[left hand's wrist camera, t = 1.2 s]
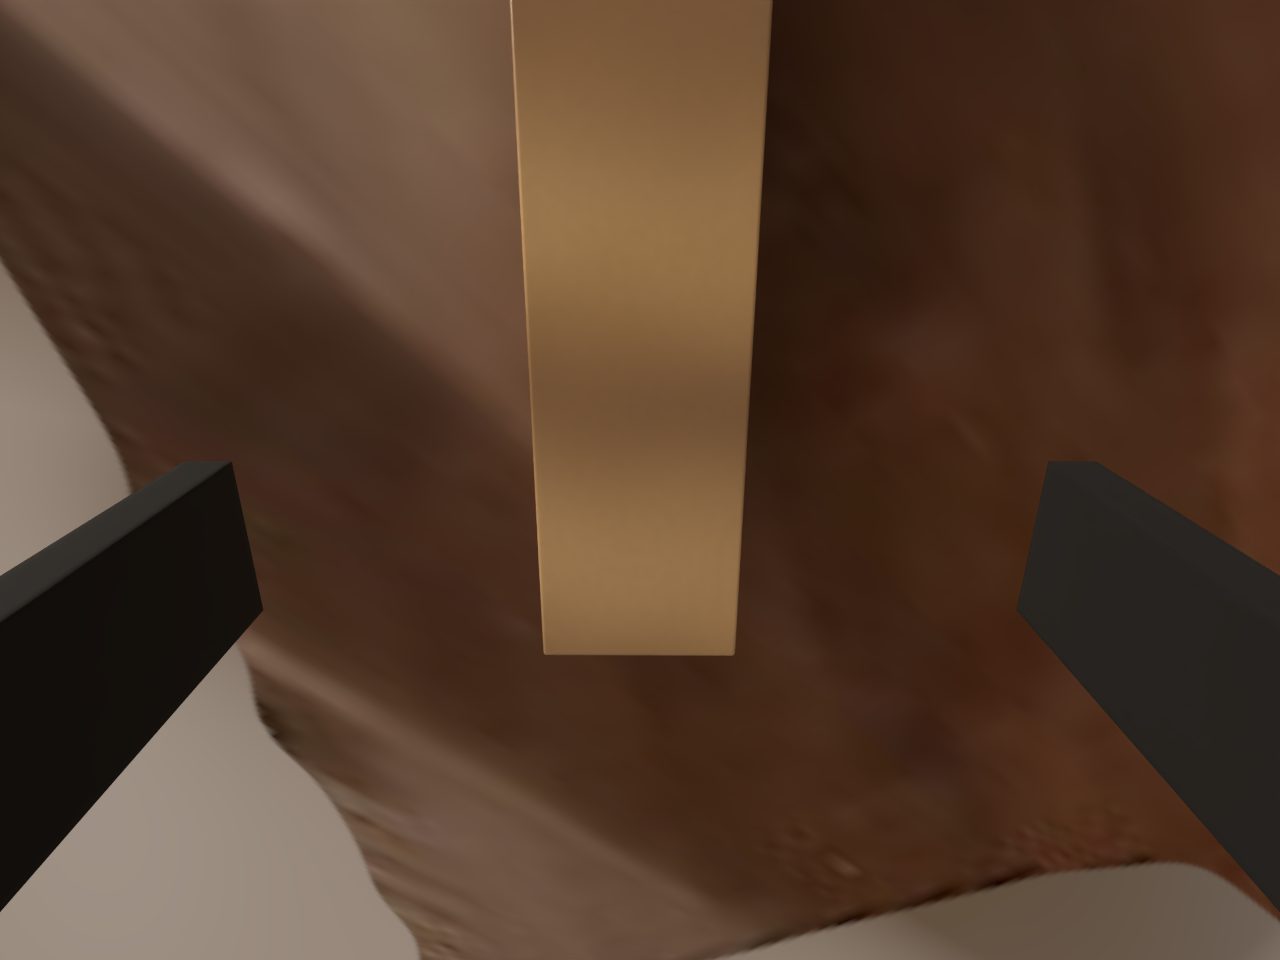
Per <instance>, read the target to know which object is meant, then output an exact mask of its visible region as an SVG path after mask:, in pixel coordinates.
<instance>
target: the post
mask: <svg viewBox="0 0 1280 960" xmlns="http://www.w3.org/2000/svg"><path fill="white" fill-rule="evenodd" d="M509 4H510V23H511V42H512V61H513V80H514V99H515V118H516V137H517V156H518V175H519V194H520V213H521V232H522V251H523V270H524V289H525V308H526V327H527V347H528V366H529V385H530V404H531V423H532V442H533V461H534V480H535V499H536V518H537V537H538V556H539V575H540V594H541V613H542V632H543V651H544V654H545V655H715V656H732V655H734V654H735V645H736V628H737V611H738V594H739V576H740V559H741V542H742V525H743V508H744V490H745V473H746V456H747V439H748V422H749V404H750V387H751V370H752V353H753V336H754V318H755V301H756V284H757V267H758V250H759V232H760V215H761V198H762V181H763V164H764V147H765V129H766V112H767V95H768V78H769V61H770V43H771V26H772V9H773V0H509Z"/></svg>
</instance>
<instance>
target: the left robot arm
mask: <svg viewBox="0 0 1280 960" xmlns="http://www.w3.org/2000/svg"><path fill="white" fill-rule="evenodd" d="M262 611H263V607H262V602H261V597H260V593H259V588H258V583H257V578H256V574H255V569H254V564H253V560H252V555H251V550H250V546H249V541H248V536H247V531H246V527H245V522H244V517H243V513H242V508H241V503H240V499H239V494H238V489H237V485H236V480H235V475H234V470H233V466H232V462H183V463H181V464H179V465H178V466H176V467H174V468H173V469H171V470H170V471H168V472H166V473H165V474H163V475H162V476H160V477H158V478H157V479H155V480H154V481H152V482H150V483H149V484H147V485H146V486H144V487H142V488H141V489H139V490H138V491H136V492H134V493H133V494H131V495H130V496H128V497H126V498H125V499H123V500H122V501H120V502H118V503H117V504H115V505H114V506H112V507H110V508H109V509H107V510H105V511H104V512H102V513H101V514H99V515H97V516H96V517H94V518H93V519H91V520H89V521H88V522H86V523H85V524H83V525H81V526H80V527H78V528H77V529H75V530H73V531H72V532H70V533H68V534H67V535H65V536H64V537H62V538H60V539H59V540H57V541H56V542H54V543H53V544H51V545H49V546H48V547H46V548H44V549H43V550H41V551H40V552H38V553H36V554H35V555H33V556H32V557H30V558H28V559H27V560H25V561H24V562H22V563H20V564H19V565H17V566H15V567H14V568H12V569H11V570H9V571H7V572H6V573H4V574H3V575H1V576H0V912H1V910H2V909H3V908H4V907H5V906H6V905H7V904H8V902H9V901H10V900H11V899H12V898H13V897H14V895H15V894H16V893H17V892H18V891H19V890H20V889H21V887H22V886H23V885H24V884H25V883H26V882H27V881H28V879H29V878H30V877H31V876H32V875H33V874H34V872H35V871H36V870H37V869H38V868H39V867H40V866H41V865H42V863H43V862H44V861H45V860H46V859H47V858H48V856H49V855H50V854H51V853H52V852H53V851H54V850H55V848H56V847H57V846H58V845H59V844H60V843H61V842H62V840H63V839H64V838H65V837H66V836H67V835H68V833H69V832H70V831H71V830H72V829H73V828H74V827H75V825H76V824H77V823H78V822H79V821H80V820H81V819H82V817H83V816H84V815H85V814H86V813H87V812H88V810H89V809H90V808H91V807H92V806H93V805H94V804H95V803H96V801H97V800H98V799H99V798H100V797H101V796H102V795H103V793H104V792H105V791H106V790H107V789H108V787H109V786H110V785H111V784H112V783H113V782H114V781H115V779H116V778H117V777H118V776H119V775H120V774H121V773H122V772H123V770H124V769H125V768H126V767H127V766H128V765H129V763H130V762H131V761H132V760H133V759H134V758H135V757H136V755H137V754H138V753H139V752H140V751H141V750H142V749H143V747H144V746H145V745H146V744H147V743H148V742H149V741H150V739H151V738H152V737H153V736H154V735H155V734H156V733H157V731H158V730H159V729H160V728H161V727H162V726H163V725H164V723H165V722H166V721H167V720H168V719H169V718H170V716H171V715H172V714H173V713H174V712H175V711H176V710H177V708H178V707H179V706H180V705H181V704H182V703H183V702H184V700H185V699H186V698H187V697H188V696H189V695H190V693H191V692H192V691H193V690H194V689H195V688H196V687H197V685H198V684H199V683H200V682H201V681H202V680H203V679H204V677H205V676H206V675H207V674H208V673H209V672H210V671H211V669H212V668H213V667H214V666H215V665H216V664H217V663H218V661H219V660H220V659H221V658H222V657H223V656H224V654H225V653H226V652H227V651H228V650H229V649H230V648H231V646H232V645H233V644H234V643H235V642H236V641H237V640H238V638H239V637H240V636H241V635H242V634H243V633H244V632H245V630H246V629H247V628H248V627H249V626H250V625H251V624H252V622H253V621H254V620H255V619H256V618H257V617H258V615H259V614H260V613H261V612H262ZM1017 611H1018V612H1019V613H1020V614H1021V615H1022V617H1023V618H1024V619H1025V620H1026V621H1027V622H1028V624H1029V625H1030V626H1031V627H1032V628H1033V629H1034V630H1035V632H1036V633H1037V634H1038V635H1039V636H1040V637H1041V638H1042V640H1043V641H1044V642H1045V643H1046V644H1047V645H1048V646H1049V648H1050V649H1051V650H1052V651H1053V652H1054V653H1055V655H1056V656H1057V657H1058V658H1059V659H1060V660H1061V661H1062V663H1063V664H1064V665H1065V666H1066V667H1067V668H1068V669H1069V671H1070V672H1071V673H1072V674H1073V675H1074V676H1075V677H1076V679H1077V680H1078V681H1079V682H1080V683H1081V684H1082V685H1083V687H1084V688H1085V689H1086V690H1087V691H1088V692H1089V694H1090V695H1091V696H1092V697H1093V698H1094V699H1095V700H1096V702H1097V703H1098V704H1099V705H1100V706H1101V707H1102V708H1103V710H1104V711H1105V712H1106V713H1107V714H1108V715H1109V716H1110V718H1111V719H1112V720H1113V721H1114V722H1115V723H1116V725H1117V726H1118V727H1119V728H1120V729H1121V730H1122V731H1123V733H1124V734H1125V735H1126V736H1127V737H1128V738H1129V739H1130V741H1131V742H1132V743H1133V744H1134V745H1135V746H1136V747H1137V749H1138V750H1139V751H1140V752H1141V753H1142V754H1143V755H1144V757H1145V758H1146V759H1147V760H1148V761H1149V762H1150V764H1151V765H1152V766H1153V767H1154V768H1155V769H1156V770H1157V772H1158V773H1159V774H1160V775H1161V776H1162V777H1163V778H1164V780H1165V781H1166V782H1167V783H1168V784H1169V785H1170V786H1171V788H1172V789H1173V790H1174V791H1175V792H1176V793H1177V795H1178V796H1179V797H1180V798H1181V799H1182V800H1183V801H1184V803H1185V804H1186V805H1187V806H1188V807H1189V808H1190V809H1191V811H1192V812H1193V813H1194V814H1195V815H1196V816H1197V817H1198V819H1199V820H1200V821H1201V822H1202V823H1203V824H1204V825H1205V827H1206V828H1207V829H1208V830H1209V831H1210V832H1211V834H1212V835H1213V836H1214V837H1215V838H1216V839H1217V840H1218V842H1219V843H1220V844H1221V845H1222V846H1223V847H1224V848H1225V850H1226V851H1227V852H1228V853H1229V854H1230V855H1231V856H1232V858H1233V859H1234V860H1235V861H1236V862H1237V863H1238V865H1239V866H1240V867H1241V868H1242V869H1243V870H1244V871H1245V873H1246V874H1247V875H1248V876H1249V877H1250V878H1251V879H1252V881H1253V882H1254V883H1255V884H1256V885H1257V886H1258V887H1259V889H1260V890H1261V891H1262V892H1263V893H1264V894H1265V895H1266V897H1267V898H1268V899H1269V900H1270V901H1271V902H1272V904H1273V905H1274V906H1275V907H1276V908H1277V909H1278V910H1279V912H1280V576H1279V575H1277V574H1276V573H1274V572H1273V571H1271V570H1269V569H1268V568H1266V567H1265V566H1263V565H1261V564H1260V563H1258V562H1256V561H1255V560H1253V559H1252V558H1250V557H1248V556H1247V555H1245V554H1244V553H1242V552H1240V551H1239V550H1237V549H1236V548H1234V547H1232V546H1231V545H1229V544H1228V543H1226V542H1224V541H1223V540H1221V539H1220V538H1218V537H1216V536H1215V535H1213V534H1212V533H1210V532H1208V531H1207V530H1205V529H1203V528H1202V527H1200V526H1199V525H1197V524H1195V523H1194V522H1192V521H1191V520H1189V519H1187V518H1186V517H1184V516H1183V515H1181V514H1179V513H1178V512H1176V511H1175V510H1173V509H1171V508H1170V507H1168V506H1167V505H1165V504H1163V503H1162V502H1160V501H1159V500H1157V499H1155V498H1154V497H1152V496H1150V495H1149V494H1147V493H1146V492H1144V491H1142V490H1141V489H1139V488H1138V487H1136V486H1134V485H1133V484H1131V483H1130V482H1128V481H1126V480H1125V479H1123V478H1122V477H1120V476H1118V475H1117V474H1115V473H1114V472H1112V471H1110V470H1109V469H1107V468H1106V467H1104V466H1102V465H1101V464H1099V463H1097V462H1048V466H1047V470H1046V475H1045V480H1044V484H1043V489H1042V494H1041V499H1040V503H1039V508H1038V513H1037V517H1036V522H1035V527H1034V531H1033V536H1032V541H1031V546H1030V550H1029V555H1028V560H1027V564H1026V569H1025V574H1024V578H1023V583H1022V588H1021V593H1020V597H1019V602H1018V607H1017Z"/></svg>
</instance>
